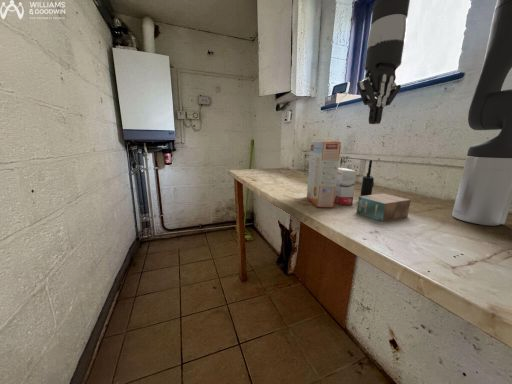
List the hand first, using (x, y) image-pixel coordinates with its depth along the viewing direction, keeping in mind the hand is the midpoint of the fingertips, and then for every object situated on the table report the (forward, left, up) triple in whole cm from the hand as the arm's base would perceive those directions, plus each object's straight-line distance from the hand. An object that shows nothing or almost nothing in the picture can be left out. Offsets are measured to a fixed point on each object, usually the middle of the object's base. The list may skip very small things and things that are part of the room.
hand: (374, 123), depth 51 cm
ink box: (+1, -16, -25) cm, 30 cm away
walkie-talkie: (-7, -16, -25) cm, 31 cm away
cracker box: (+9, -14, -25) cm, 31 cm away
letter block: (-2, -1, -23) cm, 23 cm away
